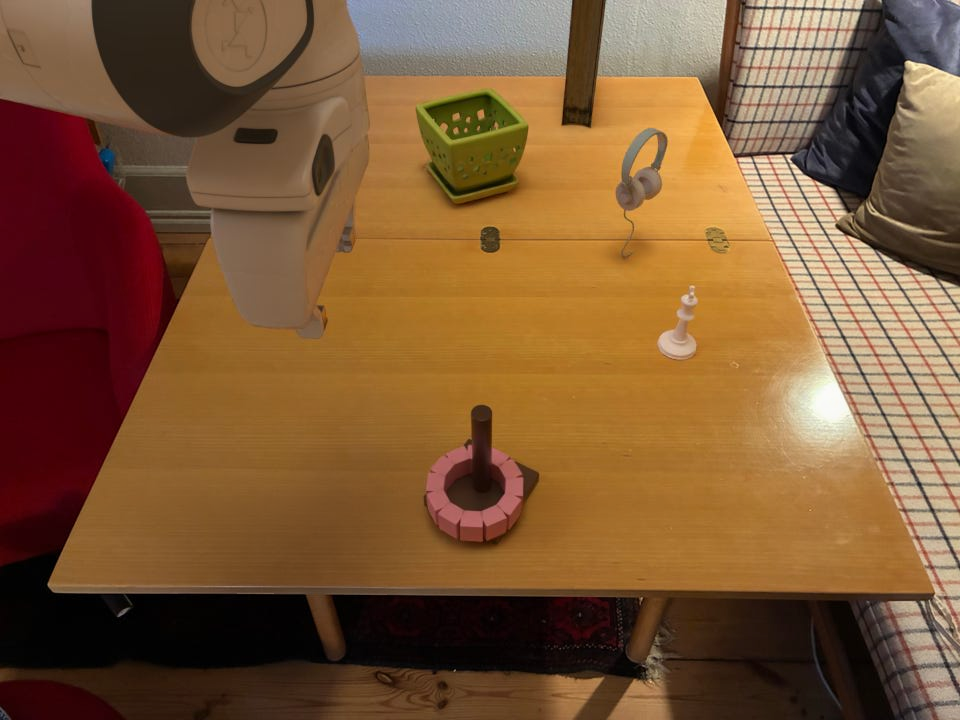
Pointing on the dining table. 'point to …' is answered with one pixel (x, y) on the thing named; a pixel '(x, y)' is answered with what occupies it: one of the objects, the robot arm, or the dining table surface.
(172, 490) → the dining table surface
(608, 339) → the dining table surface
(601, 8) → the book
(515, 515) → the ring
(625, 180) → the headphones
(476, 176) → the flower pot
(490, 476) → the stand
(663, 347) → the chess piece
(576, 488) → the dining table surface
